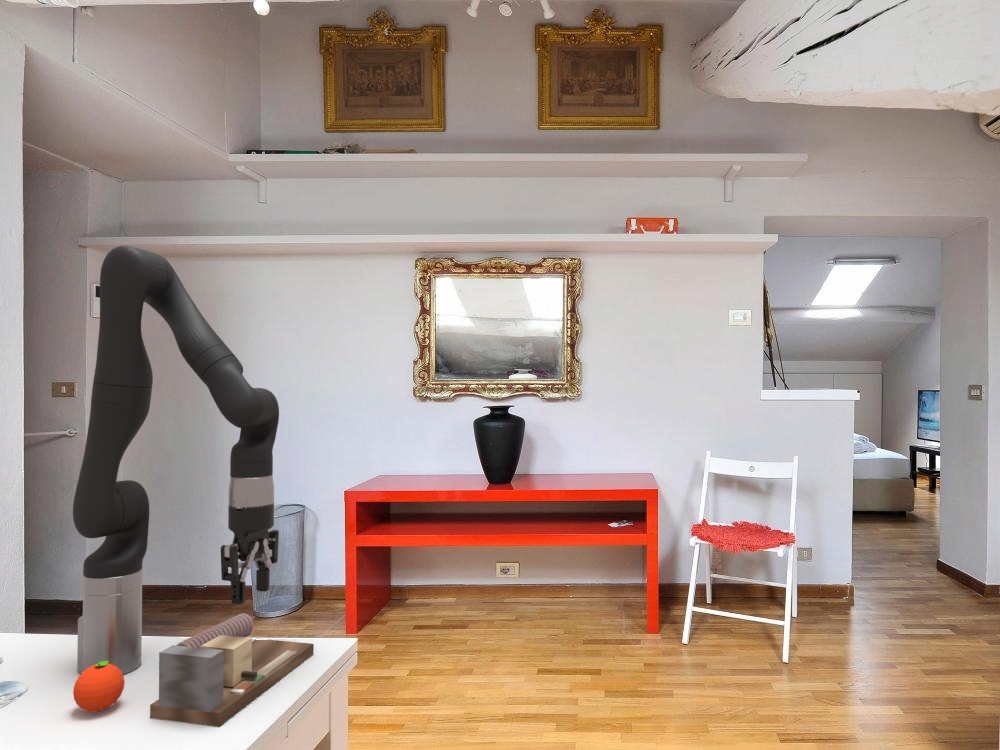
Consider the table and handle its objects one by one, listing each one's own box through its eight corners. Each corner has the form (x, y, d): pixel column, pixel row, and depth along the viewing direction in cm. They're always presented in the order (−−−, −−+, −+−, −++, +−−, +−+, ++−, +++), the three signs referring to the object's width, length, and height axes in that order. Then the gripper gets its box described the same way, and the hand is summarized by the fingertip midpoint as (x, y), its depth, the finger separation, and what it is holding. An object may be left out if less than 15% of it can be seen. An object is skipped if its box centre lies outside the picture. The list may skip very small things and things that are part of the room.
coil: (191, 646, 120) (257, 614, 137) (171, 641, 121) (238, 609, 138) (189, 672, 120) (255, 637, 137) (168, 666, 121) (236, 632, 139)
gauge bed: (150, 717, 102) (150, 651, 103) (256, 648, 130) (257, 596, 130) (219, 726, 100) (219, 658, 100) (313, 654, 127) (313, 601, 127)
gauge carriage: (188, 691, 106) (188, 653, 106) (220, 670, 114) (220, 635, 114) (235, 696, 104) (235, 657, 104) (264, 675, 112) (264, 639, 112)
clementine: (86, 698, 109) (87, 654, 109) (133, 694, 110) (133, 651, 110) (64, 722, 101) (65, 674, 101) (114, 718, 102) (115, 670, 103)
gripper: (256, 494, 126) (255, 584, 125) (206, 507, 112) (205, 608, 111) (292, 496, 124) (291, 586, 124) (246, 509, 110) (245, 611, 110)
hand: (250, 596), depth 118 cm, fingers open, 6 cm apart
